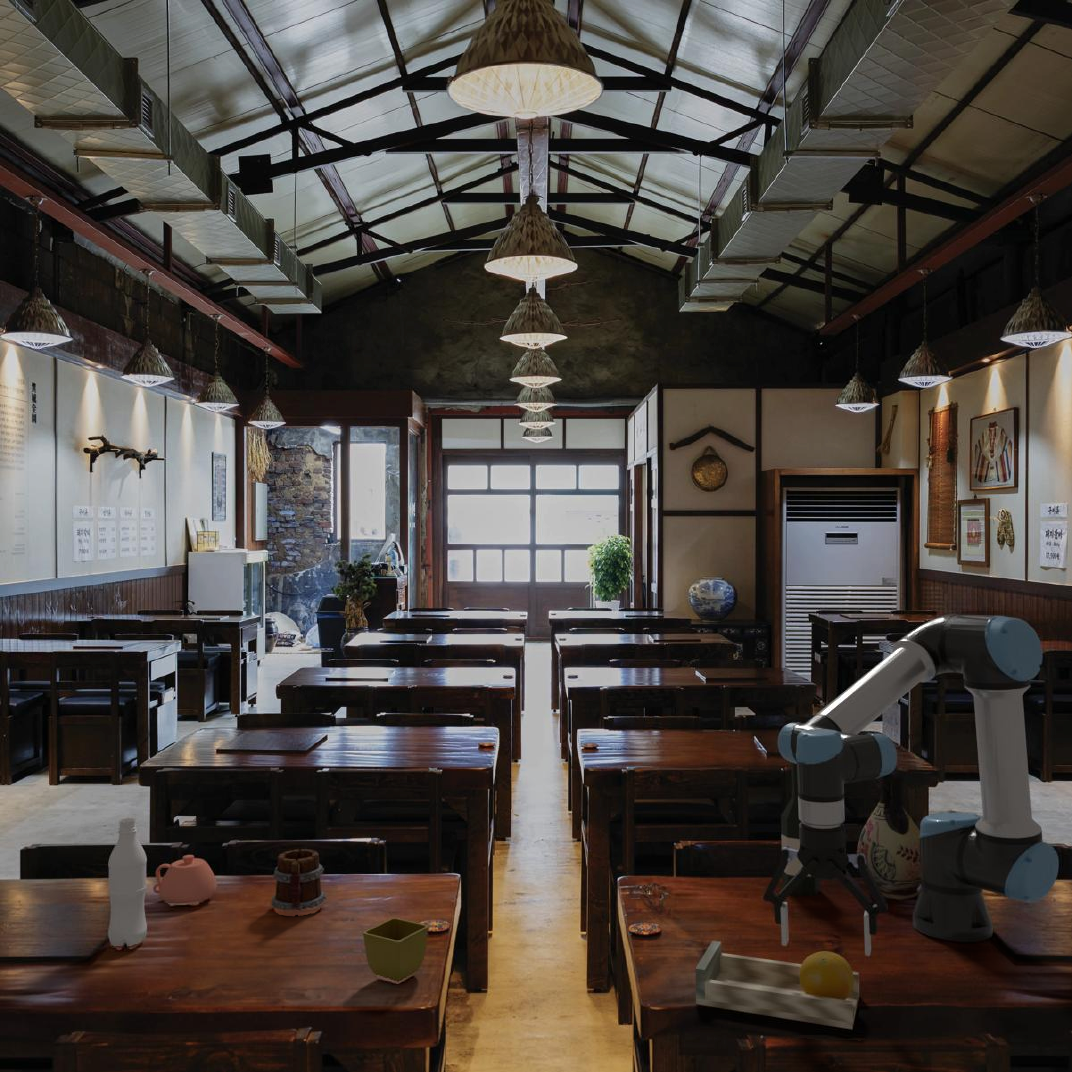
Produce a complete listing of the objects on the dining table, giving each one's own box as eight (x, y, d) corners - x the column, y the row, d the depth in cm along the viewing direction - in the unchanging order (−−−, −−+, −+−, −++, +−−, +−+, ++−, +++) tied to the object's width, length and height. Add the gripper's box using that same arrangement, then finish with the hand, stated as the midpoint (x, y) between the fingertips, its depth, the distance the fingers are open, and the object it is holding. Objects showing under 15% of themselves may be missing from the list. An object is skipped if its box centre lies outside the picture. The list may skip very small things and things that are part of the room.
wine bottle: (821, 896, 225) (818, 762, 226) (783, 894, 226) (780, 761, 227) (818, 884, 233) (816, 755, 234) (781, 882, 235) (779, 754, 235)
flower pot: (399, 992, 177) (398, 941, 177) (361, 982, 182) (361, 931, 182) (430, 974, 185) (429, 925, 185) (393, 965, 189) (393, 917, 189)
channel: (859, 995, 174) (858, 960, 174) (852, 1029, 162) (851, 991, 162) (713, 973, 184) (712, 940, 184) (695, 1003, 171) (695, 968, 171)
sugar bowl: (206, 911, 220) (205, 864, 220) (142, 911, 220) (142, 864, 220) (224, 892, 232) (224, 847, 232) (164, 892, 232) (164, 848, 232)
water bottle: (154, 942, 201) (154, 817, 202) (126, 955, 195) (126, 826, 196) (128, 937, 204) (128, 814, 205) (99, 949, 198) (100, 822, 199)
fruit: (798, 1008, 167) (797, 959, 167) (801, 988, 175) (800, 942, 175) (853, 1015, 164) (852, 966, 164) (854, 994, 172) (853, 948, 172)
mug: (328, 895, 228) (327, 833, 226) (324, 928, 214) (323, 863, 212) (275, 898, 226) (273, 835, 224) (268, 932, 212) (266, 866, 210)
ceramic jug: (849, 882, 234) (847, 753, 235) (915, 882, 234) (913, 753, 235) (871, 907, 217) (868, 769, 218) (943, 907, 217) (940, 768, 218)
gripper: (900, 822, 169) (905, 948, 169) (752, 811, 179) (756, 930, 178) (898, 834, 162) (903, 966, 162) (744, 822, 172) (748, 947, 171)
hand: (826, 947), depth 170 cm, fingers open, 13 cm apart
